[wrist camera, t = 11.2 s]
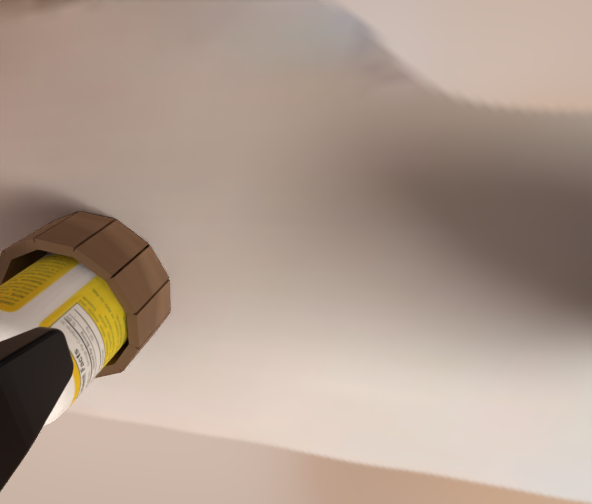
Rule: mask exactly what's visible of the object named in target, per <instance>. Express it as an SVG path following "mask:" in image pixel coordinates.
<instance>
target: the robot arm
mask: <svg viewBox="0 0 592 504" xmlns="http://www.w3.org/2000/svg"><path fill="white" fill-rule="evenodd" d="M73 370H74V363H73V360H72V356H71V353H70V350H69V347H68V344H67V340H66V337H65V335H64V333H63V332H62V331H61V330H59V329H57V328H50V327H36V328H33V329H31V330H28V331H26V332H23V333H21V334H18V335H16V336H13V337H11V338H8V339H6V340H3V341H1V342H0V492H1V490H2V489H3V487H4V486H5V484H6V483H7V482H8V480H9V479H10V477H11V476H12V474H13V473H14V472H15V470H16V469H17V467H18V466H19V464H20V463H21V461H22V460H23V459H24V457H25V456H26V454H27V453H28V451H29V449H30V448H31V446H32V444H33V443H34V441H35V440H36V438H37V436H38V434H39V432H40V431H41V429H42V427H43V426H44V424H45V422H46V420H47V419H48V417H49V415H50V414H51V412H52V410H53V408H54V407H55V405H56V403H57V401H58V400H59V398H60V396H61V394H62V393H63V391H64V389H65V388H66V386H67V384H68V382H69V381H70V379H71V377H72V374H73Z"/></svg>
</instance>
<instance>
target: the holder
mask: <svg viewBox="0 0 592 504" xmlns="http://www.w3.org/2000/svg"><path fill="white" fill-rule="evenodd" d="M147 245H148V243H147V242H146V241H144V240H143V239H142V238H140V237H139V236H138V235H136V234H135V233H134V232H132V231H131V230H130V229H128V228H127V227H126V226H124V225H123V224H122V223H120V222H119V221H118V220H116V221H114V219H113V218H108V217H104V216H99V215H94V214H89V213H85V212H75V213H73V214H70V215H68V216H65V217H63V218H61V219H58V220H56V221H53V222H51V223H49V224H47V225H46V226H44V227H42V228H41V229H39V230H37V231H35V232H34V233H32V234H30V235H29V236H27V237H25V238H23V239H22V240H20V241H18V242H17V243H15V244H13V245H11V246H10V247H8V248H6V249H5V250H4V251H2V253H1V256H0V286H1V285H2V284H4V283H5V282H7V281H8V280H9V279H11V278H12V277H14V276H16V275H17V274H18V273H20V272H21V271H23V270H24V269H26V268H27V267H29V266H30V265H32V264H33V263H35V262H36V261H38V260H39V259H40V258H42V257H43V256H45V255H46V254H47V252H51V253H56V254H60V255H64V256H69V257H73V258H74V259H76V260H77V261H78V262H80V263H81V264H83V265H84V266H85V267H87V268H88V269H89V270H91V271H92V272H93V273H95V274H96V275H98V276H99V277H100V278H102V279H103V280H104V281H106V282H107V284H108V286H109V287H110V289H111V290H112V292H113V294H114V295H115V297H116V298H117V300H118V301H119V303H120V305H121V306H122V308H123V309H124V311H125V313H126V315H127V327H128V340H127V341H126V342H125V343H124V345H123V346H122V347H121V348H120V349H119V350H118V351H117V353H116V354H115V355H114V356H113V357H112V358H111V360H110V361H109V362H108V363H107V364H106V365H105V366H104V367H103V369H102V370H101V371H100V372H99V373H98V374H97V375H96V377H95V378H98V377H102V376H107V375H111V374H116V373H120V372H122V371H124V369H125V368H126V367H127V366H128V365H129V363H130V362H131V361H132V360H133V359H134V357H135V356H136V355H137V354H138V353H139V351H140V350H141V349H142V348H143V347H144V345H145V344H146V343H147V342H148V341H149V339H150V338H151V337H152V336H153V335H154V333H155V332H156V331H157V329H158V328H159V327H160V325H161V324H162V323H163V321H164V320H165V319H166V317H167V316H168V315H169V313H170V311H171V309H170V280H168V278H169V277H168V276H167V274H166V272H165V270H164V269H163V267H162V265H161V263H160V262H159V260H158V258H157V256H156V255H155V253H154V251H153V250H152V248H151V246H148V247H147Z"/></svg>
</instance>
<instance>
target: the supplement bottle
mask: <svg viewBox="0 0 592 504" xmlns="http://www.w3.org/2000/svg"><path fill="white" fill-rule="evenodd" d="M36 327H50V328H57V329H59V330H61V331H62V332H63V333H64V335H65V337H66V340H67V344H68V347H69V350H70V353H71V356H72V360H73V363H74V370H73V374H72V377H71V379H70V381H69V382H68V384H67V386H66V388H65V389H64V391H63V393H62V394H61V396H60V398H59V400H58V401H57V403H56V405H55V407H54V408H53V410H52V412H51V414H50V415H49V417H48V419H47V420H46V422H45V424H44V426H45V425H47V424H49V423H51V422H53V421H54V420H56V419H57V418H58V417H59V416H60V415H61V414H62V413H63V412H64V411H65V410H66V409H67V408H68V407H69V406H70V405H71V404H72V403H73V402H74V401H75V400H76V399H77V397H78V396H79V395H80V394H81V393H82V391H83V390H84V389H85V388H86V387H87V386H88V385H89V384H90V382H91V381H92V380H93V379H94V378H95V377H96V375H97V374H98V373H99V372H100V371H101V370H102V369H103V367H104V366H105V365H106V364H107V363H108V362H109V361H110V360H111V358H112V357H113V356H114V355H115V354H116V353H117V351H118V350H119V349H120V348H121V347H122V346H123V345H124V343H125V342H126V341H127V340H128V327H127V315H126V313H125V311H124V309H123V308H122V306H121V305H120V303H119V301H118V300H117V298H116V297H115V295H114V294H113V292H112V290H111V289H110V287H109V286H108V284H107V282H106V281H104V280H103V279H102V278H100V277H99V276H98V275H96V274H95V273H93V272H92V271H91V270H89V269H88V268H87V267H85V266H84V265H83V264H81V263H80V262H78V261H77V260H76V259H74V258H73V257H69V256H64V255H60V254H56V253H51V252H49V253H48V254H46V255H45V256H43V257H42V258H40V259H39V260H38V261H36V262H35V263H33V264H32V265H30V266H29V267H27V268H26V269H24V270H23V271H21V272H20V273H18V274H17V275H16V276H14V277H12V278H11V279H9V280H8V281H7V282H5V283H4V284H2V285H1V286H0V342H1V341H3V340H6V339H8V338H11V337H13V336H16V335H18V334H21V333H23V332H26V331H28V330H31V329H33V328H36Z"/></svg>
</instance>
